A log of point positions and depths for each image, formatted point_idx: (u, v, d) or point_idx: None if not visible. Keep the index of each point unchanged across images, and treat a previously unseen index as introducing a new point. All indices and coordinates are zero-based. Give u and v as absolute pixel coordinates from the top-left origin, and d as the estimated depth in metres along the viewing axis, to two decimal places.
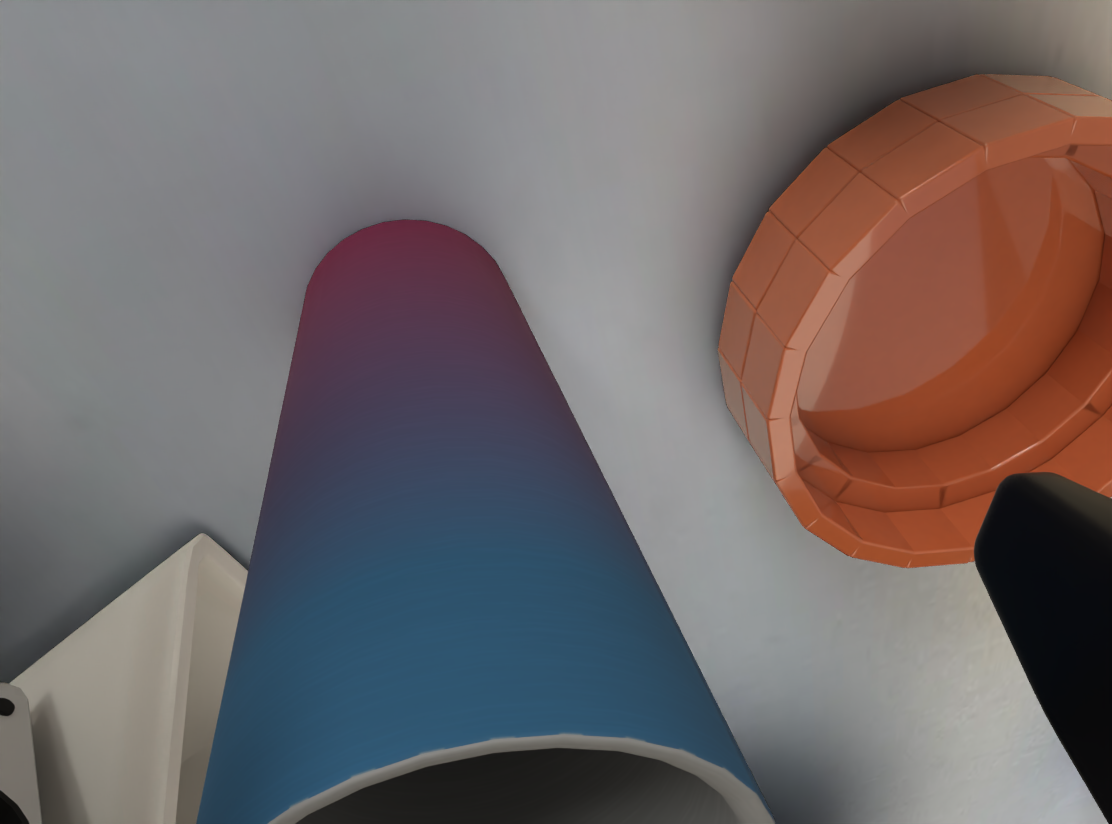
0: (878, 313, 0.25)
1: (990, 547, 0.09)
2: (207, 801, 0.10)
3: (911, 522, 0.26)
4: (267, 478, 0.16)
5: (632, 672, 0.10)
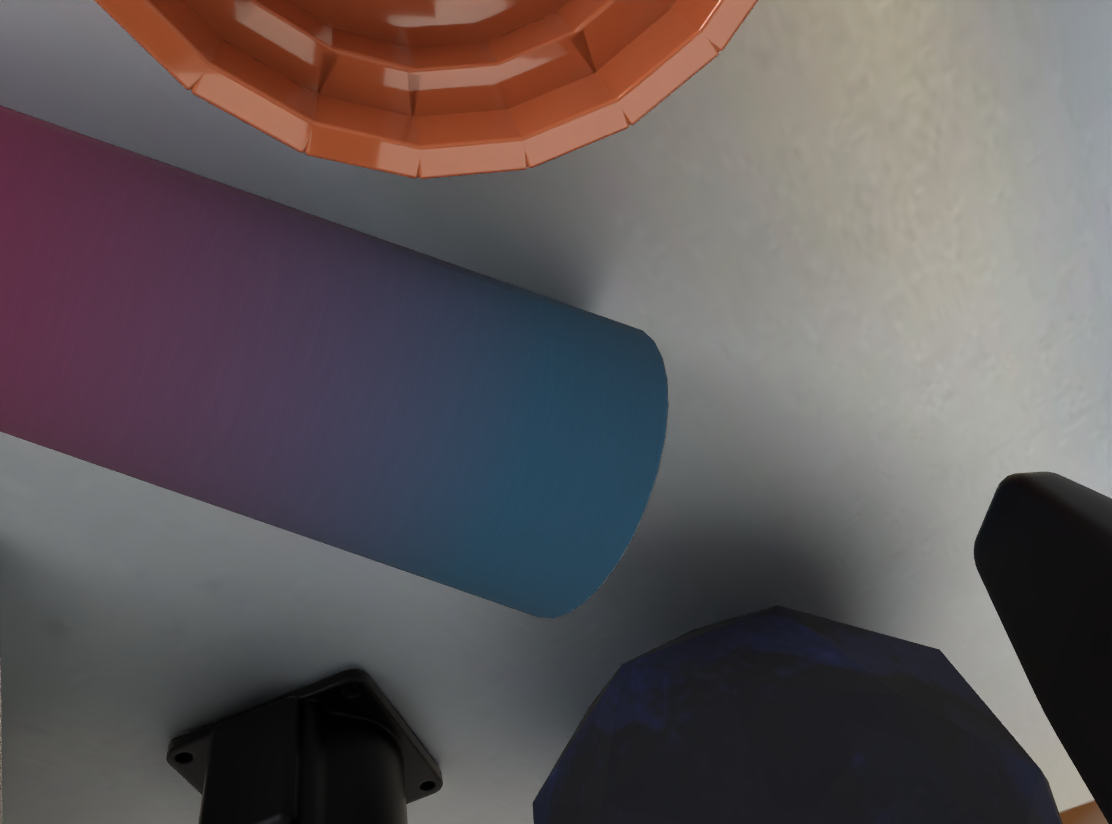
0: None
1: (990, 547, 0.09)
2: (529, 591, 0.19)
3: (539, 105, 0.17)
4: (183, 487, 0.17)
5: (626, 373, 0.18)
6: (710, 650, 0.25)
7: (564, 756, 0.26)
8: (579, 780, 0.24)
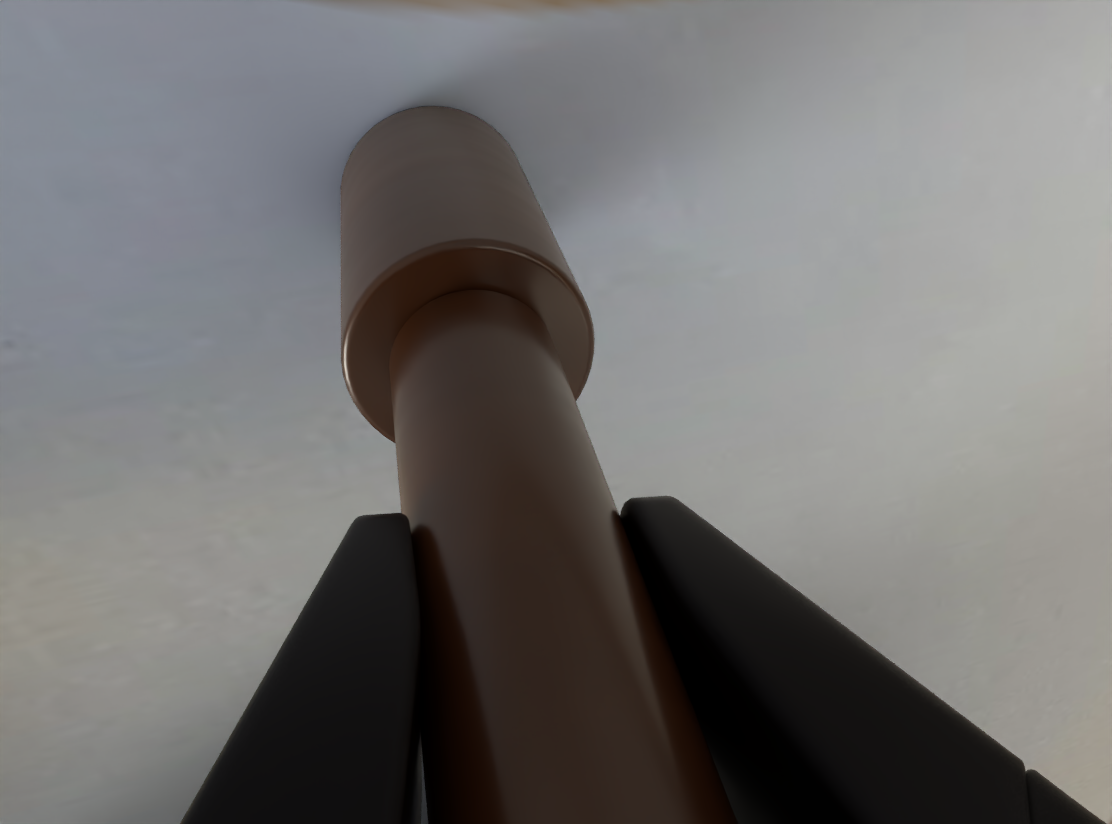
0: None
1: None
2: None
3: None
4: None
5: None
6: None
7: None
8: None
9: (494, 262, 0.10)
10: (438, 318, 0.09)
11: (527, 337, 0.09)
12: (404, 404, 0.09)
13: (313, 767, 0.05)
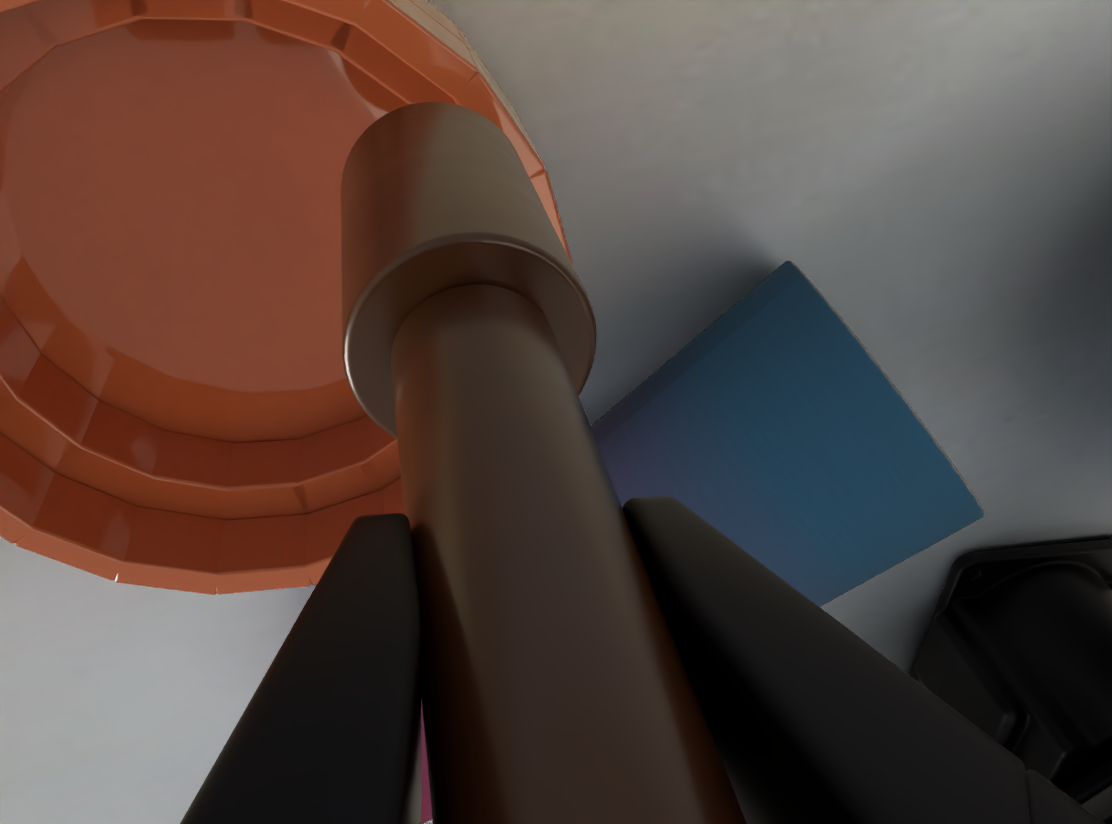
0: (256, 323, 0.20)
1: None
2: (931, 538, 0.19)
3: None
4: None
5: (799, 352, 0.18)
6: None
7: None
8: None
9: (495, 256, 0.10)
10: (440, 312, 0.09)
11: (529, 330, 0.09)
12: (407, 397, 0.09)
13: (316, 766, 0.05)
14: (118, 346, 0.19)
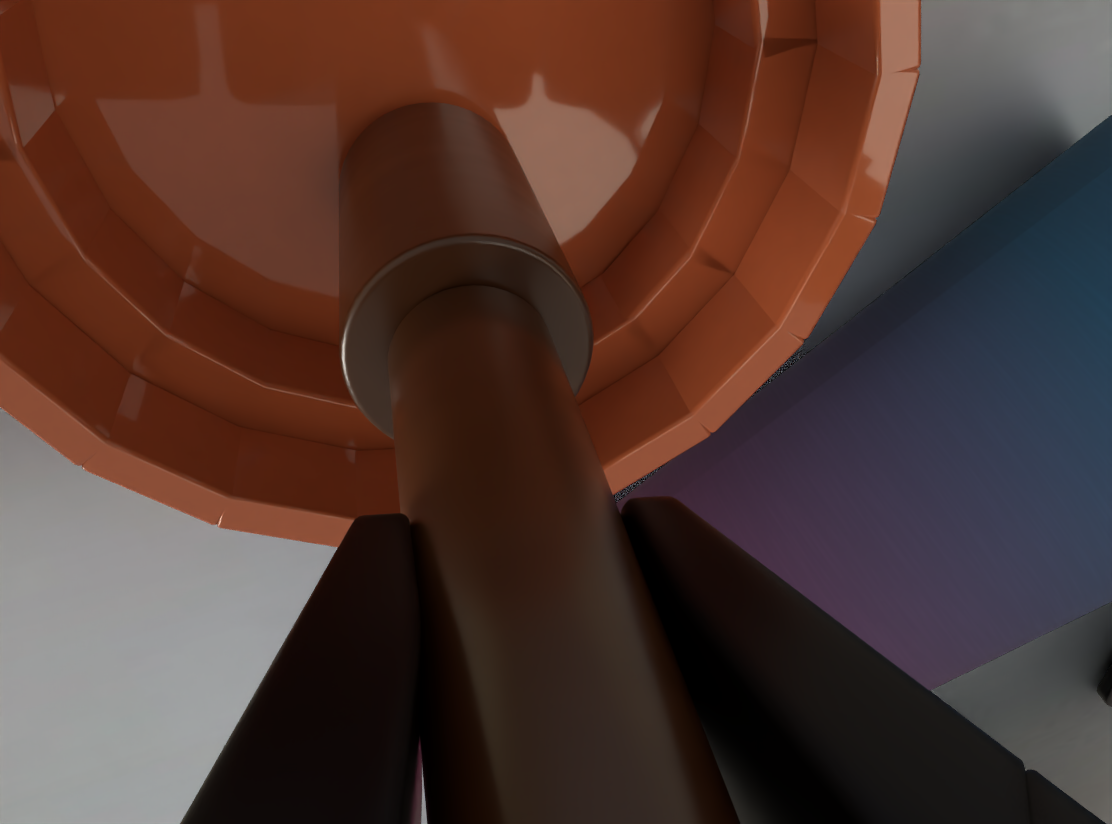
0: None
1: None
2: None
3: (812, 142, 0.13)
4: None
5: None
6: None
7: None
8: None
9: (493, 257, 0.10)
10: (437, 313, 0.09)
11: (525, 332, 0.09)
12: (403, 399, 0.09)
13: (315, 767, 0.05)
14: (217, 203, 0.14)
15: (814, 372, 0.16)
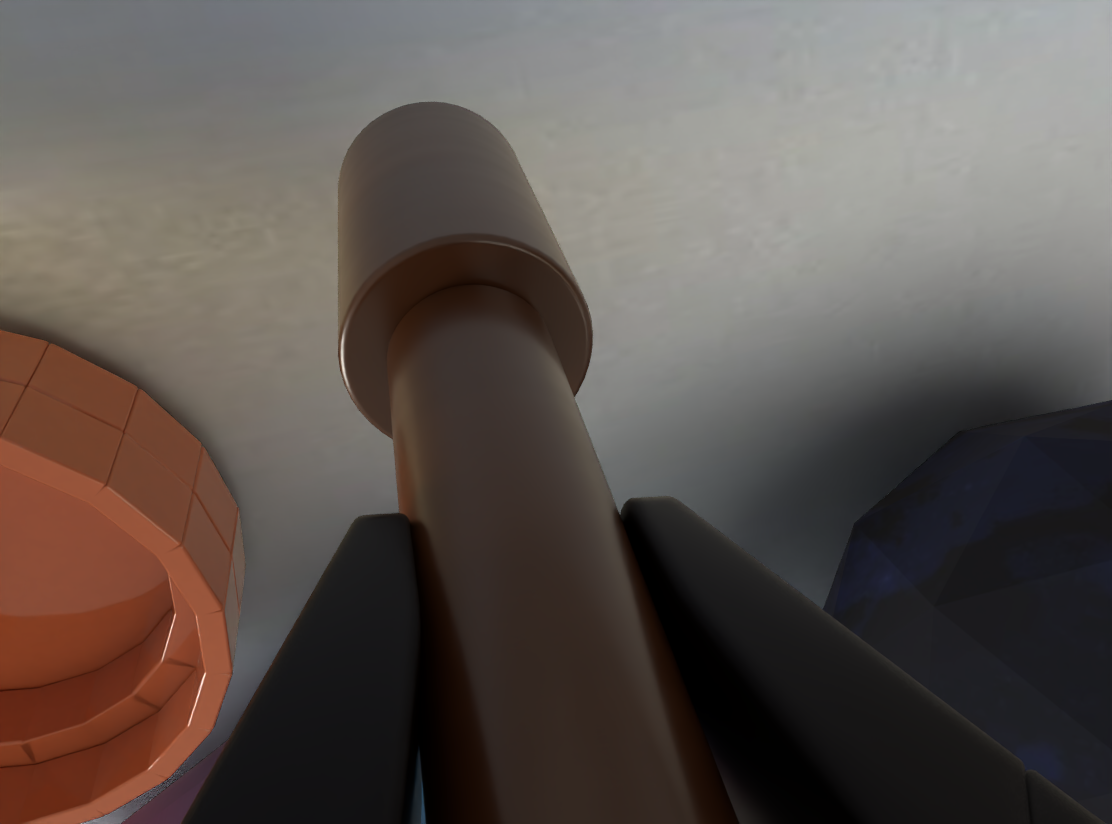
0: None
1: None
2: None
3: None
4: None
5: None
6: None
7: None
8: None
9: (492, 256, 0.10)
10: (436, 313, 0.09)
11: (525, 331, 0.09)
12: (401, 397, 0.09)
13: (314, 766, 0.05)
14: None
15: None
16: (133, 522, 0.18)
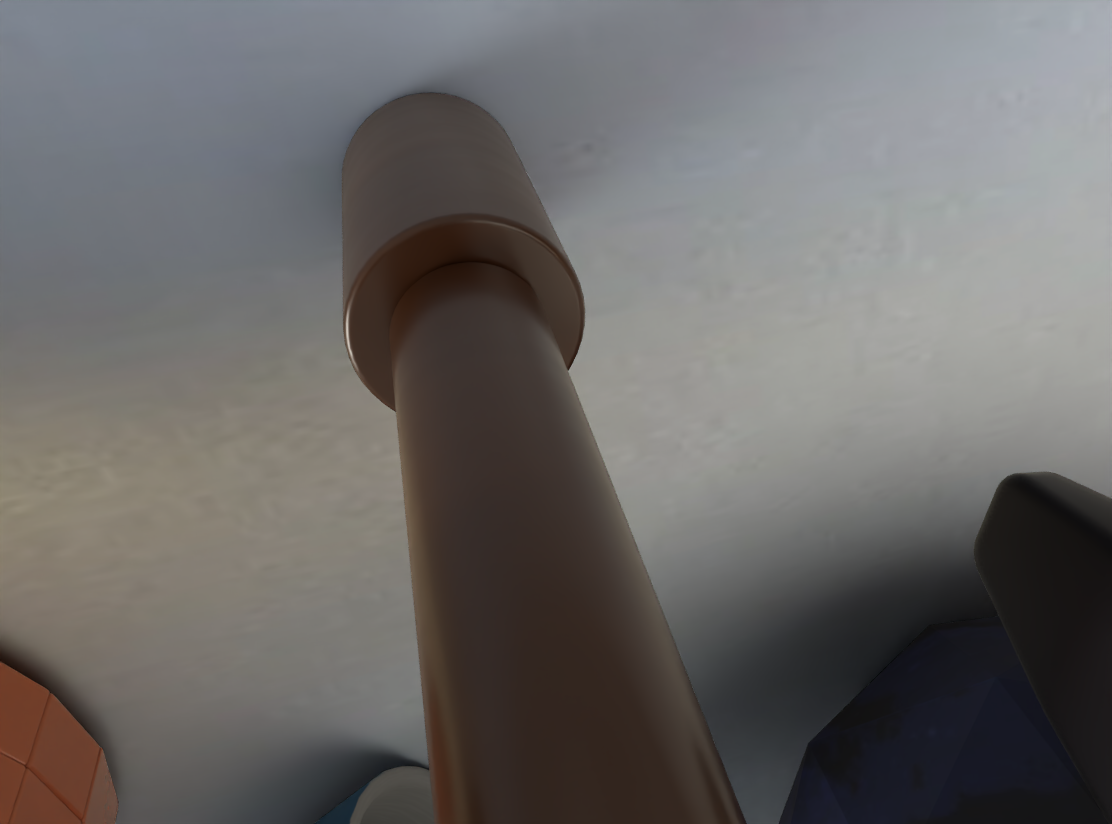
0: None
1: (990, 547, 0.09)
2: None
3: None
4: None
5: None
6: None
7: None
8: None
9: (489, 236, 0.10)
10: (436, 288, 0.10)
11: (520, 305, 0.10)
12: (403, 367, 0.09)
13: None
14: None
15: None
16: None
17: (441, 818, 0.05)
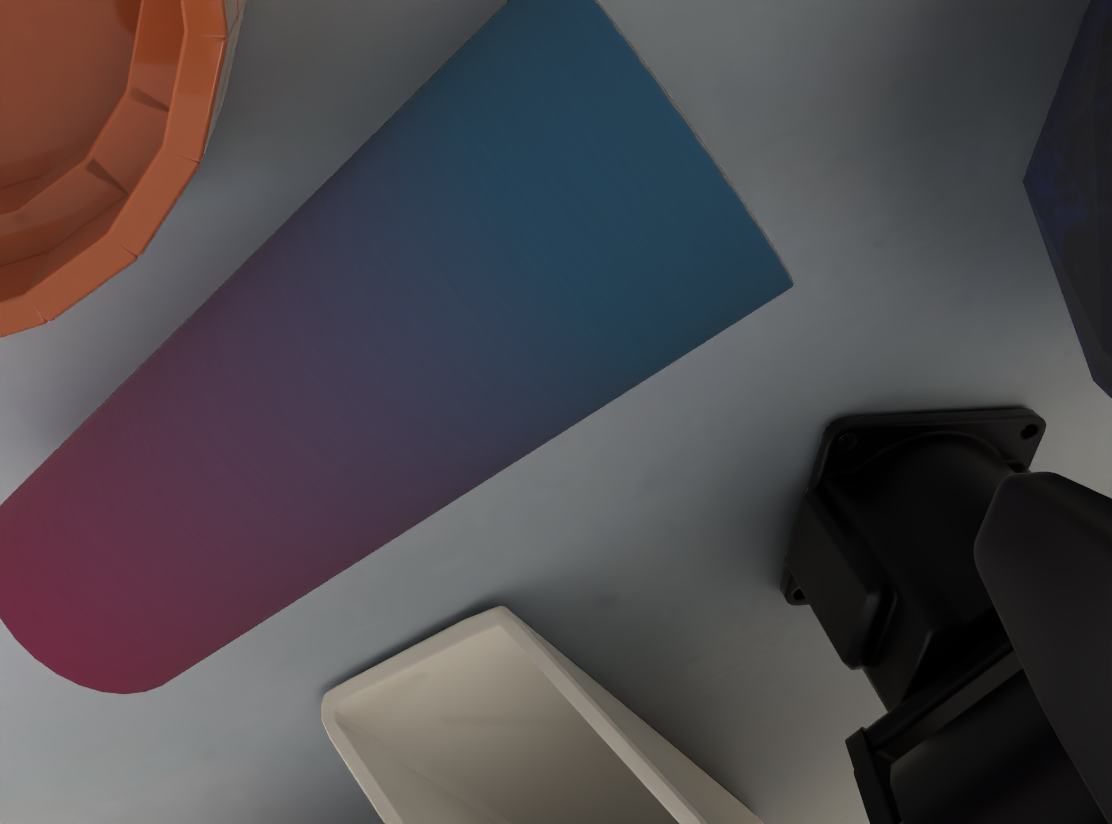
0: None
1: (990, 547, 0.09)
2: (716, 298, 0.15)
3: None
4: (408, 519, 0.17)
5: (535, 34, 0.14)
6: (1078, 70, 0.16)
7: (1070, 315, 0.19)
8: (1085, 332, 0.18)
9: None
10: None
11: None
12: None
13: None
14: None
15: (292, 217, 0.17)
16: None
17: None
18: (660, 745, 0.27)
